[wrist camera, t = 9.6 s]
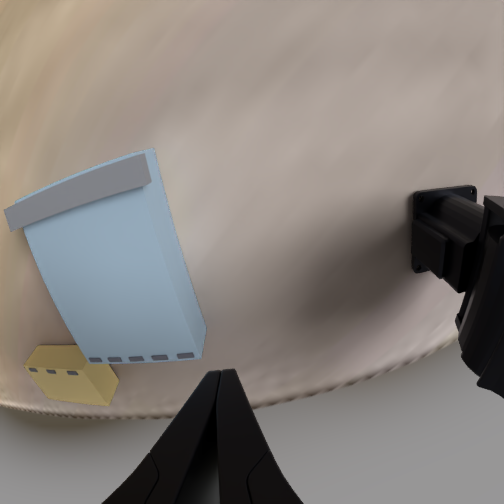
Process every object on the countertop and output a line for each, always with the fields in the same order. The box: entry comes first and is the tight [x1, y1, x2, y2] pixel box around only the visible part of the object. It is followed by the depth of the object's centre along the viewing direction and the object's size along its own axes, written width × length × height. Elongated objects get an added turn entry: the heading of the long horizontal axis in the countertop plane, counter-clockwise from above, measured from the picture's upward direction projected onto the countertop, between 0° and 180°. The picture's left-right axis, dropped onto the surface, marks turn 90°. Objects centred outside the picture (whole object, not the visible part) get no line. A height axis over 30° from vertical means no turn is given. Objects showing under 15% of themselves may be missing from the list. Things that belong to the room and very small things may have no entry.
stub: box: [23, 345, 119, 406], centre depth 22 cm, size 9×5×4 cm, turn 101°
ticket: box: [4, 148, 207, 364], centre depth 18 cm, size 11×14×4 cm
